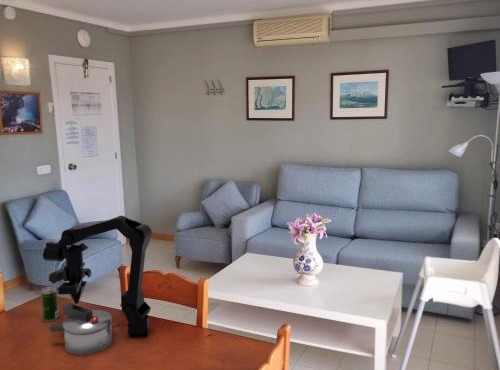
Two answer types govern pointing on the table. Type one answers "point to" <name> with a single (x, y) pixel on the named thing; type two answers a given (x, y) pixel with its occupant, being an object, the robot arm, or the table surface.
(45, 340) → the table surface
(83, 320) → the cooker lid
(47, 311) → the beer can
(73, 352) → the cooker pot
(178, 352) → the table surface
